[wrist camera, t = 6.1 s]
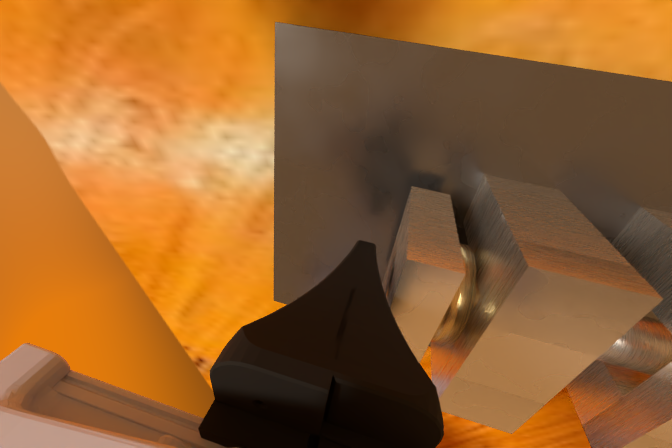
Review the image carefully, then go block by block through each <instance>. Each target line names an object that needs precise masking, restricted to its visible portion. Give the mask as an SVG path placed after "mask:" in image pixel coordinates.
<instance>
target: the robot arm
mask: <svg viewBox="0 0 672 448" xmlns="http://www.w3.org/2000/svg"><path fill="white" fill-rule="evenodd" d="M210 379H211V383H212V388H213V392H214V396H215V400H214V402H213V404H212V405H211V407H210V409H209V411H208V412H207V414H206V416H205V417H204V418H201V417H198V416H195V415H193V414H190V413H187V412H184V411H182V410H179V409H176V408H173V407H171V406H168V405H165V404H162V403H160V402H157V401H154V400H151V399H149V398H146V397H143V396H141V395H137V394H135V393H132V392H130V391H127V390H124V389H121V388H119V387H116V386H113V385H111V384H108V383H105V382H102V381H100V380H97V379H94V378H91V377H88V376H86V375H83V374H80V373H77V372H75V371H72V370H70V366H69V365H68V363H67V362H66V360H65V359H63V358H62V357H61V356H60V355H58V354H56V353H54V352H52V351H49V350H46V349H43V348H40V347H38V346H35V345H32V344H29V343H25V344H23V345H22V346H20V347H19V348H18V349H16V350H15V351H14V352H12V353H11V354H10V355H9V356H7V357H6V358H4V359H3V360H2V361H0V448H436V446H437V445H438V444H439V443H440V442H441V440H442V438H443V435H444V431H443V429H444V426H443V417H442V412H441V406H440V401H439V397H438V393H437V389H436V386H435V385H434V384H433V382H432V381H431V379H430V378H429V377H428V375H427V374H426V372H425V371H424V369H423V368H422V366H421V365H420V363H419V362H418V360H417V359H416V357H415V355H414V354H413V352H412V351H411V349H410V347H409V345H408V344H407V342H406V340H405V338H404V336H403V334H402V332H401V331H400V329H399V327H398V325H397V323H396V320H395V318H394V316H393V314H392V311H391V309H390V306H389V304H388V301H387V298H386V295H385V292H384V289H383V286H382V282H381V278H380V274H379V270H378V264H377V257H376V245H375V244H374V243H370V242H366V241H362V240H359V241H357V242H356V244H355V245H354V247H353V248H352V250H351V251H350V252H349V254H348V255H347V256H346V257H345V258H344V259H343V260H342V262H341V263H340V264H339V265H338V266H337V267H336V268H335V269H334V270H333V271H332V272H331V273H330V274H329V275H328V276H326V277H325V278H324V279H323V280H322V281H321V282H320V283H318V284H317V285H316V286H314V287H313V288H312V289H311V290H309V291H308V292H306V293H305V294H303V295H302V296H300V297H299V298H298V299H296V300H294V301H293V302H291V303H290V304H288V305H286V306H284V307H282V308H280V309H279V310H277V311H275V312H273V313H271V314H269V315H267V316H265V317H263V318H261V319H259V320H256V321H254V322H252V323H250V324H247V325H245V326H243V327H241V328H240V330H239V331H238V332H237V333H236V334H235V335H234V336H233V338H232V339H231V340H230V341H229V342H228V344H227V345H226V346H225V348H224V349H223V350H222V352H221V354H220V355H219V357H218V359H217V360H216V362H215V363H214V365H213V367H212V368H211V370H210Z"/></svg>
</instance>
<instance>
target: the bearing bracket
mask: <svg viewBox="0 0 672 448" xmlns="http://www.w3.org/2000/svg"><path fill="white" fill-rule="evenodd" d="M412 186H413V187H418V188H422V189H427V190H431V191H436V192H441V193H445V194H450V197H451V202H452V207H453V212H454V217H455V223H456V228H457V233H458V238H459V243H461V244H465V245H468V246H470V247H471V248H472V250H473V252H474V255H475V260H476V278H477V283H478V287H479V291H480V295H481V298H480V299H479V301H478V303H477V304H476V306H475V308H474V309H473V311H472V313H471V314H470V316H469V318H468V321H467V323H466V326H465V328H464V330H463V332H462V334H461V336H460V337H459V339H458V340H457V341H456V343H455V344H453V345H452V346H445V345H441V344H438V343H434V342H430V343H429V345H428V346H430V347H431V370H432V382H433V384H434V385H435V386H436V389H437V393H438V397H439V401H440V406H441V411H443V412H446V413H449V414H452V415H455V416H458V417H461V418H464V419H467V420H471V421H474V422H477V423H480V424H483V425H486V426H489V427H492V428H495V429H498V430H502V431H505V432H508V433H511V434H512V433H514V432H515V431H516V430H517V429H518V428H519V427H520V426H521V425H523V424H524V423H525V422H526V421H527V420H528V419H529V418H530V417H532V416H533V415H534V414H535V413H536V412H537V411H538V410H539V409H541V408H542V407H543V406H544V405H545V404H546V403H547V402H548V401H550V400H551V399H552V398H553V397H554V396H555V395H556V394H557V393H559V392H560V391H561V390H562V389H563V388H564V387H565V386H566V388H567V391H568V393H569V395H570V398H571V400H572V402H573V405H574V407H575V410H576V412H577V414H578V417H579V419H580V421H581V424H582V426H583V428H584V431H585V433H586V436H587V438H588V440H589V443H590V445H591V447H592V448H672V362H671V363H669V364H668V365H667V366H665V367H664V368H662V369H661V370H660V371H658V372H657V373H655V374H654V375H649V374H646V373H642V372H638V371H635V370H631V369H628V368H624V367H620V366H617V365H613V364H610V363H606V362H602V361H599V360H596V359H597V358H598V357H599V356H600V355H601V354H603V353H604V352H605V351H606V350H607V349H608V348H609V347H610V346H612V345H613V344H614V343H615V342H616V341H617V340H618V339H619V338H621V337H622V336H623V335H624V334H625V333H626V332H627V331H628V330H630V329H631V328H632V327H633V326H634V325H635V324H636V323H637V322H639V321H640V320H641V319H642V318H643V317H644V316H647V317H651V318H655V319H659V320H660V321H661V322H662V323H663V324H664V326H665V327H666V328H667V329H668V330H669V331H670V333H671V334H672V82H669V81H662V80H656V79H649V78H642V77H636V76H629V75H623V74H616V73H609V72H603V71H596V70H590V69H583V68H576V67H570V66H563V65H557V64H550V63H543V62H537V61H530V60H523V59H517V58H510V57H504V56H497V55H490V54H484V53H477V52H471V51H464V50H457V49H451V48H444V47H438V46H431V45H424V44H418V43H411V42H404V41H398V40H391V39H385V38H378V37H371V36H365V35H358V34H352V33H345V32H338V31H332V30H325V29H319V28H312V27H305V26H299V25H292V24H285V23H279V22H275V151H274V301H277V302H281V303H284V304H287V305H288V304H290V303H291V302H293V301H294V300H296V299H298V298H299V297H300V296H302V295H303V294H305V293H306V292H308V291H309V290H311V289H312V288H313V287H314V286H316V285H317V284H318V283H320V282H321V281H322V280H323V279H324V278H325V277H326V276H328V275H329V274H330V273H331V272H332V271H333V270H334V269H335V268H336V267H337V266H338V265H339V264H340V263H341V262H342V260H343V259H344V258H345V257H346V256H347V255H348V254H349V252H350V251H351V250H352V248H353V247H354V245H355V244H356V242H357V241H359V240H362V241H366V242H370V243H374V244H375V245H376V257H377V264H378V270H379V274H380V278H381V282H383V279H384V276H385V273H386V269H387V266H388V263H389V259H390V256H391V253H392V249H393V246H394V243H395V240H396V236H397V233H398V230H399V226H400V223H401V220H402V216H403V213H404V210H405V207H406V203H407V200H408V197H409V193H410V190H411V187H412Z"/></svg>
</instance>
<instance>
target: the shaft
mask: <svg viewBox="0 0 672 448" xmlns="http://www.w3.org/2000/svg"><path fill="white" fill-rule="evenodd" d="M382 286H383V289H384V292H385V295H386V298H387V301H388V304H389V306H390V309H391V311H392V314H393V316H394V318H395V320H396V323H397V325H398V327H399V329H400V331H401V332H402V334H403V336H404V338H405V340H406V342H407V344H408V345H409V347H410V349H411V351H412V352H413V354H414V355H415V357H416V359H417V360H418V362H419V363H420V361H421V359H422V357H423V355H424V353H425V351H426V349H427V347H428V345H429V343H430V342H434V343H438V344H441V345H445V346H452V345H453V344H455V343H456V341H457V340H458V339H459V337H460V336H461V334H462V332H463V330H464V328H465V326H466V323H467V321H468V318H469V316H470V314H471V313H472V311H473V309H474V308H475V306H476V304H477V303H478V301H479V299H480V298H481V295H480V291H479V287H478V283H477V278H476V260H475V255H474V252H473V250H472V248H471V247H470V246H468V245H465V244H461V243H459V238H458V233H457V228H456V223H455V217H454V212H453V207H452V202H451V197H450V194H445V193H441V192H436V191H431V190H427V189H422V188H418V187H413V186H412V187H411V190H410V193H409V197H408V200H407V203H406V207H405V210H404V213H403V216H402V220H401V223H400V226H399V230H398V233H397V236H396V240H395V243H394V246H393V249H392V253H391V256H390V259H389V263H388V266H387V269H386V273H385V276H384V279H383V282H382ZM596 360H599V361H602V362H606V363H610V364H613V365H617V366H620V367H624V368H628V369H631V370H635V371H638V372H642V373H646V374H649V375H654V374H655V373H657V372H658V371H660V370H661V369H662V368H664V367H665V366H667V365H668V364H669V363H671V362H672V334H671V333H670V331H669V330H668V329H667V328H666V327H665V326H664V324H663V323H662V322H661V321H660V320H659V319H655V318H651V317H647V316H644V317H643V318H642V319H641V320H640V321H639V322H637V323H636V324H635V325H634V326H633V327H632V328H631V329H630V330H628V331H627V332H626V333H625V334H624V335H623V336H622V337H621V338H619V339H618V340H617V341H616V342H615V343H614V344H613V345H612V346H610V347H609V348H608V349H607V350H606V351H605V352H604V353H603V354H601V355H600V356H599V357H598V358H597V359H596Z"/></svg>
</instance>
